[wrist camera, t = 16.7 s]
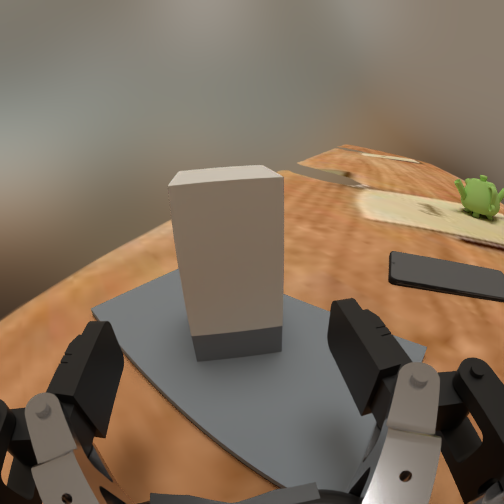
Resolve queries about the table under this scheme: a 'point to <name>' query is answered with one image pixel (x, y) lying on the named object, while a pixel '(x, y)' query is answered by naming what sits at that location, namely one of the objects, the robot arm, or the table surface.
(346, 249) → the table surface
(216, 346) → the block
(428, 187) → the table surface
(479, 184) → the teapot
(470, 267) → the smartphone
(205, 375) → the desk mat
